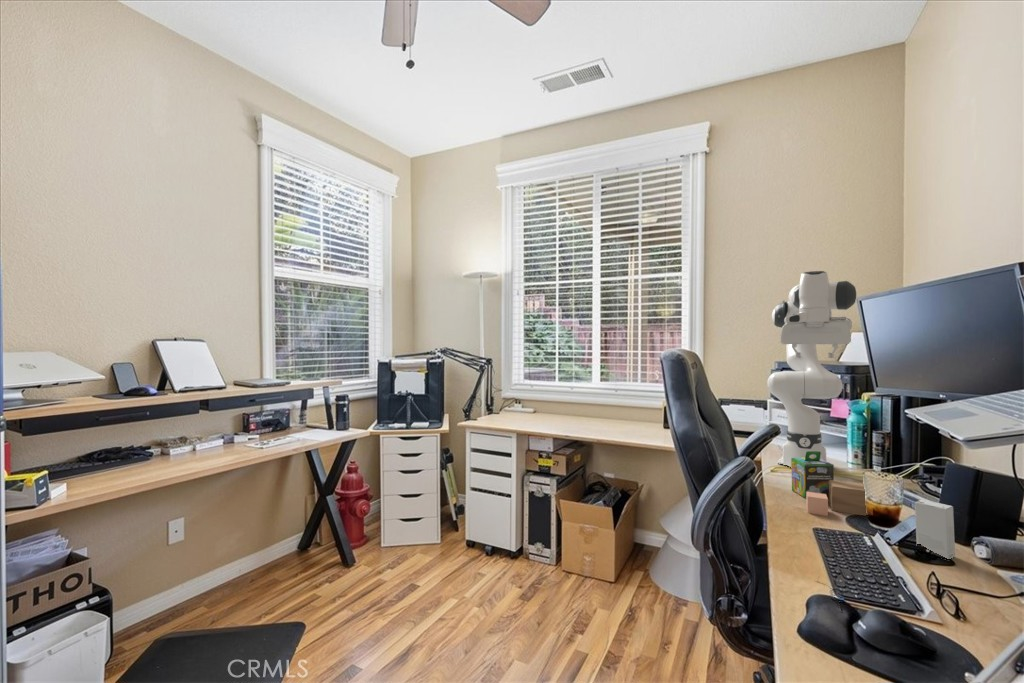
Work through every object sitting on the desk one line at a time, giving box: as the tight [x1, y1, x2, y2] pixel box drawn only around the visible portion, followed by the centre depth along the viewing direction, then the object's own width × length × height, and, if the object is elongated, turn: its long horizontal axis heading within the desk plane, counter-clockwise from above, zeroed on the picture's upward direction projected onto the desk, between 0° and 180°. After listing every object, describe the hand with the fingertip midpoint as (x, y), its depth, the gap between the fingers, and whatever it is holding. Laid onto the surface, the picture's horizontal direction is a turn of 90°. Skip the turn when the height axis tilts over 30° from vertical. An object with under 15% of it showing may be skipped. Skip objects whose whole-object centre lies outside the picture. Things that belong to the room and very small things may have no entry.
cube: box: [805, 492, 829, 517], centre depth 135 cm, size 5×5×5 cm
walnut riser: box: [828, 479, 867, 517], centre depth 137 cm, size 8×10×7 cm
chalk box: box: [790, 451, 835, 500], centre depth 150 cm, size 9×9×15 cm
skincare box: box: [914, 498, 956, 560], centre depth 108 cm, size 6×4×12 cm
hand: (814, 357), depth 155 cm, fingers open, 8 cm apart
